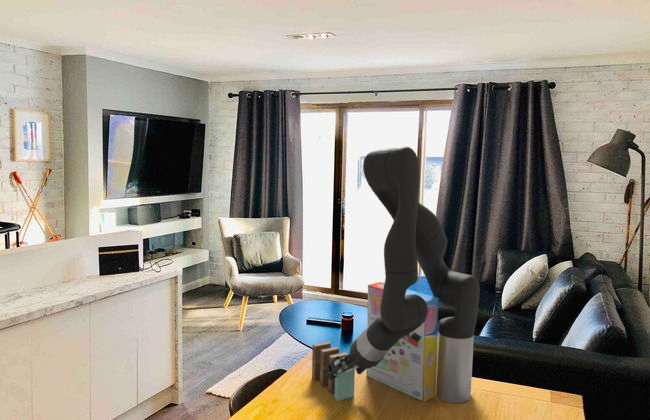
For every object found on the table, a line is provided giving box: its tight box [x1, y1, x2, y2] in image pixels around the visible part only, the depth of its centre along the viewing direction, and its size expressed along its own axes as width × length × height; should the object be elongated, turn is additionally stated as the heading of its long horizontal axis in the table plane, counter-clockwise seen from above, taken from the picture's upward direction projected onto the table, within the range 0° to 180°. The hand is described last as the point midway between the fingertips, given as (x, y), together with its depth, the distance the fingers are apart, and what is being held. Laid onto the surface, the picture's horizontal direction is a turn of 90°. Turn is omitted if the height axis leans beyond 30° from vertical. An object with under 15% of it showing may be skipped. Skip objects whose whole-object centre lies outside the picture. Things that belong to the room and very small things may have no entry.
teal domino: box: [334, 363, 356, 402], centre depth 136 cm, size 2×5×10 cm, turn 121°
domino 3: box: [327, 351, 348, 395], centre depth 140 cm, size 2×5×10 cm, turn 121°
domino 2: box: [319, 346, 340, 388], centre depth 144 cm, size 2×5×10 cm, turn 120°
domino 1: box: [311, 341, 332, 382], centre depth 148 cm, size 2×5×10 cm, turn 121°
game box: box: [366, 281, 440, 403], centre depth 142 cm, size 21×6×27 cm, turn 42°
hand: (343, 373), depth 137 cm, fingers open, 8 cm apart
